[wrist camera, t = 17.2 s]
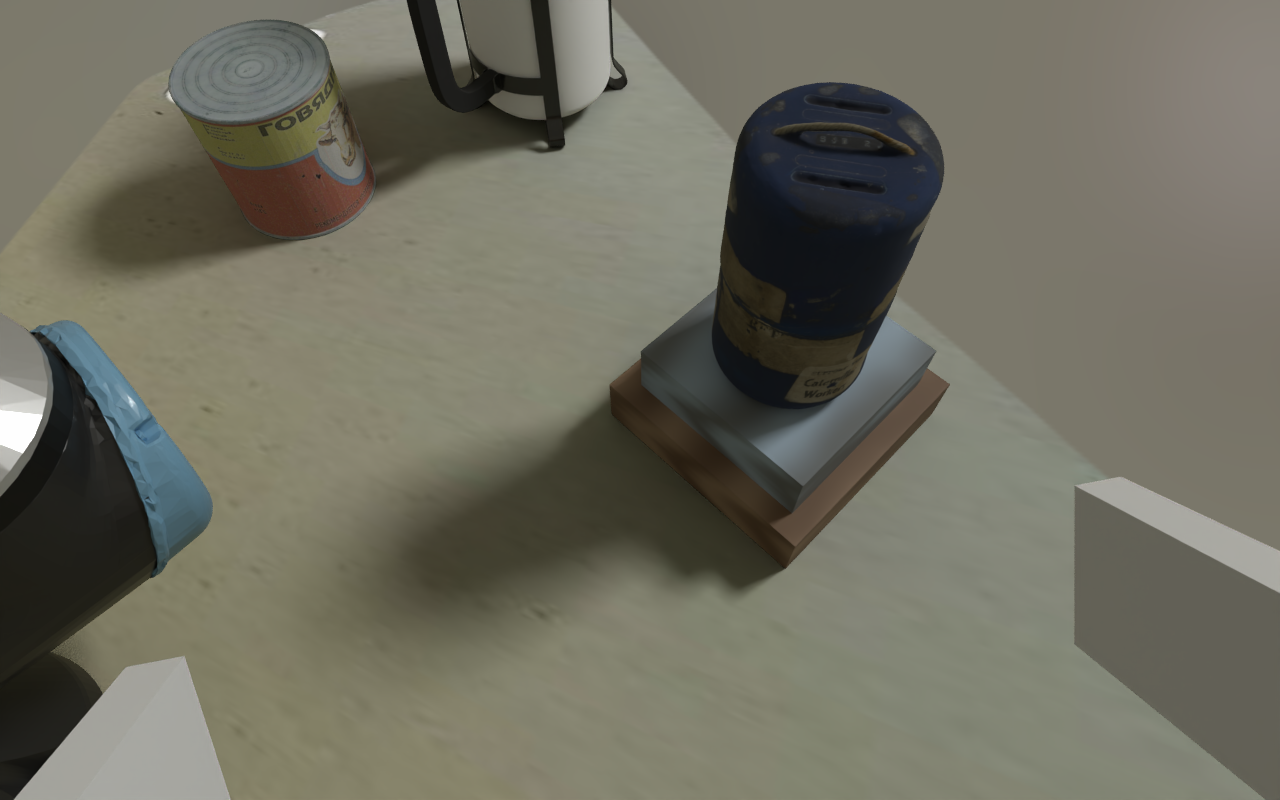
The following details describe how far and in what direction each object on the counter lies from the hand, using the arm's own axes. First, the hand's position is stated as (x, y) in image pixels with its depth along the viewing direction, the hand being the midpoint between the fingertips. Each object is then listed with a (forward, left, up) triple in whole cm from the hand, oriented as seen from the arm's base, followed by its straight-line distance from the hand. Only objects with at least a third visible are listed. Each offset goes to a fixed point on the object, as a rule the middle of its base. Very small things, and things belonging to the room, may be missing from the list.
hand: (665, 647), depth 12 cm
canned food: (-54, +13, -38) cm, 67 cm away
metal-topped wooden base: (-12, +24, -38) cm, 47 cm away
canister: (-12, +24, -30) cm, 40 cm away
